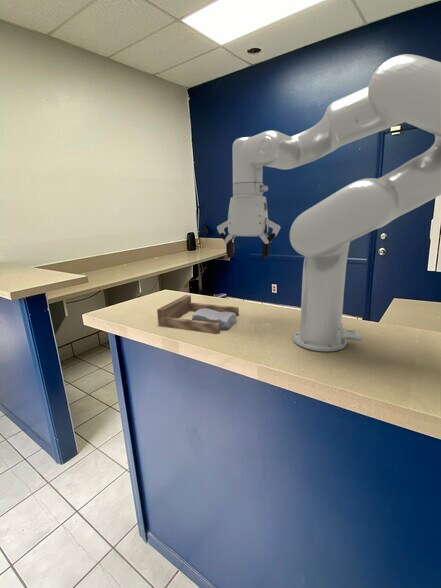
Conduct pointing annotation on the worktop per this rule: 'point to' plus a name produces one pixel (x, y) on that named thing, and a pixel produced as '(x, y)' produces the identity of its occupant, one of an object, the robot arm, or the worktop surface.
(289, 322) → the worktop surface
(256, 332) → the worktop surface
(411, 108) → the robot arm
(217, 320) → the stone block
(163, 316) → the brown u-shaped frame
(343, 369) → the worktop surface
